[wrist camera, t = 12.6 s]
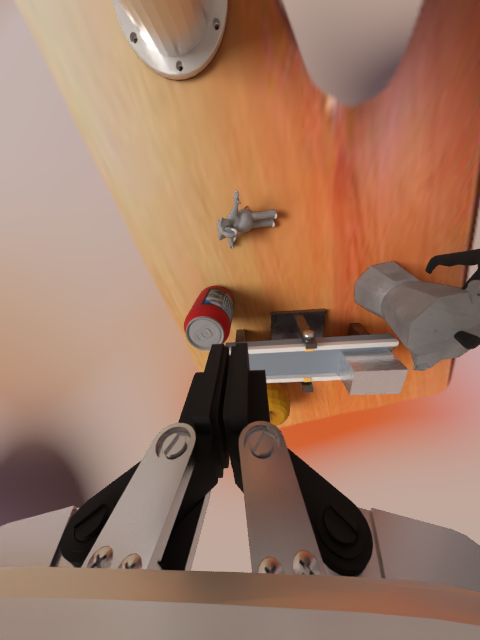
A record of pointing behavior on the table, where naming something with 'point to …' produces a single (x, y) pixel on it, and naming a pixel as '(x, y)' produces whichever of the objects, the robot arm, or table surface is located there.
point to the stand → (301, 330)
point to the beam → (308, 356)
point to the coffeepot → (425, 308)
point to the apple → (278, 403)
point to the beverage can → (210, 318)
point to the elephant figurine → (243, 221)
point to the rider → (371, 371)
